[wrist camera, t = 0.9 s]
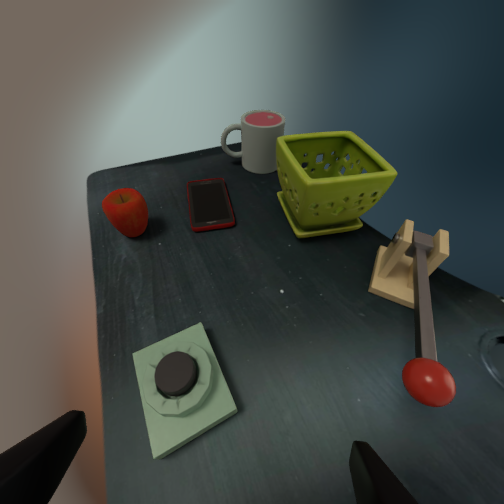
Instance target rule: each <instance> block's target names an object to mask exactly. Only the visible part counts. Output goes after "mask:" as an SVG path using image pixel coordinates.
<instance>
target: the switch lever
mask: <svg viewBox="0 0 504 504" xmlns="http://www.w3.org/2000/svg"><path fill="white" fill-rule="evenodd" d="M433 248H434V245H433V239H432V236H431V235H428V234H424V233H421V232H418V231H413V235H412V243H411V245H410V246H409V247H408V248H407V250H406V251H405V256H408V257H411V258H413V290H414V322H415V353H416V358H415V359H412V360H410V361H409V362H407V363H406V365H405V366H404V368H403V371H402V380H403V384H404V386H405V388H406V390H407V391H408V393H409V394H410V395H411V396H412V397H413V398H414V399H415V400H417V401H418V402H420V403H422V404H424V405H427V406H431V407H442V406H445V405H447V404H449V403H450V402H451V401H452V400H453V399H454V397H455V394H456V385H455V381H454V379H453V377H452V375H451V373H450V372H449V371H448V370H447V369H446V368H445V367H444V366H443V365H442V364H440V363H438V362H437V355H436V345H435V336H434V326H433V317H432V307H431V297H430V288H429V278H428V268H427V259H426V257H427V256H428V254H429V253H430V252H431V250H432V249H433Z"/></svg>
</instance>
